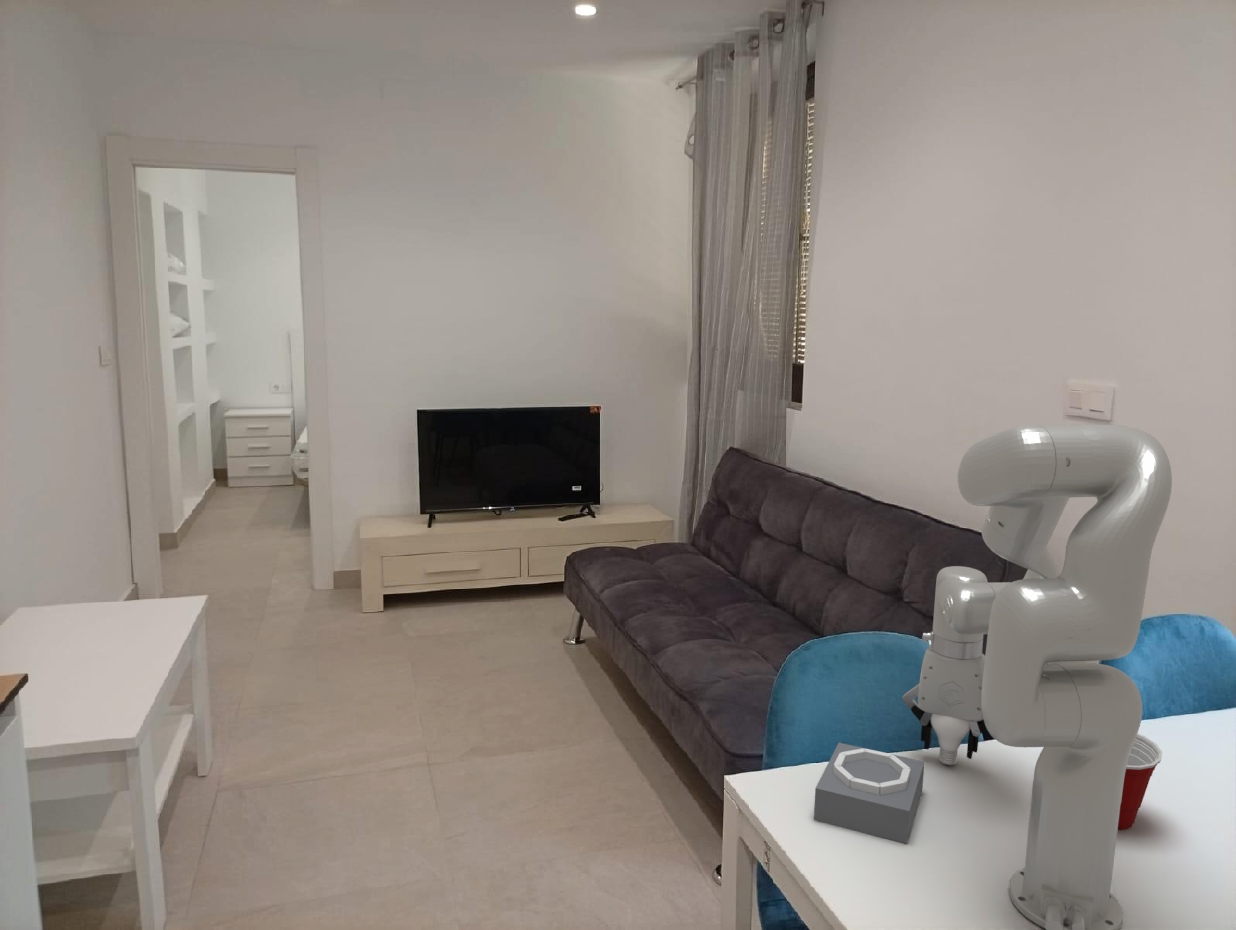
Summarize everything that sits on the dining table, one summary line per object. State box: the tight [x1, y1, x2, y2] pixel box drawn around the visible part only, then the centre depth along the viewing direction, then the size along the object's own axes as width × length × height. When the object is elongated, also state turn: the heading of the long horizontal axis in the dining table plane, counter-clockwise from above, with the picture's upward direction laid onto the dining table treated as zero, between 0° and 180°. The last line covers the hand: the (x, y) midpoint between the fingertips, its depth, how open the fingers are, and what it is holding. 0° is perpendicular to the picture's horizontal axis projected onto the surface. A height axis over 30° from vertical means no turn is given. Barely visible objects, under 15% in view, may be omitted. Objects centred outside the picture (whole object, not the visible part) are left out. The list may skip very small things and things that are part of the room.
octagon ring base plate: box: [813, 742, 925, 845], centre depth 133 cm, size 18×13×6 cm
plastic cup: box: [1117, 732, 1163, 831], centre depth 128 cm, size 11×11×12 cm
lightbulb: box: [930, 714, 971, 766], centre depth 144 cm, size 6×6×11 cm
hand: (948, 749), depth 144 cm, fingers closed on lightbulb, 5 cm apart
